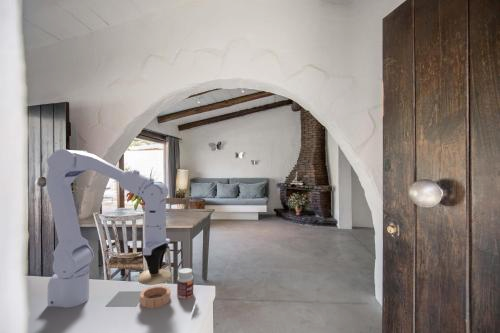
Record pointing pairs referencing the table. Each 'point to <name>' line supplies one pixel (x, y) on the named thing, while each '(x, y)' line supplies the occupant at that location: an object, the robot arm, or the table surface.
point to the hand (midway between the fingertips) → (155, 271)
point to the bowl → (154, 302)
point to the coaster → (125, 298)
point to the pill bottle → (185, 283)
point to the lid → (154, 277)
